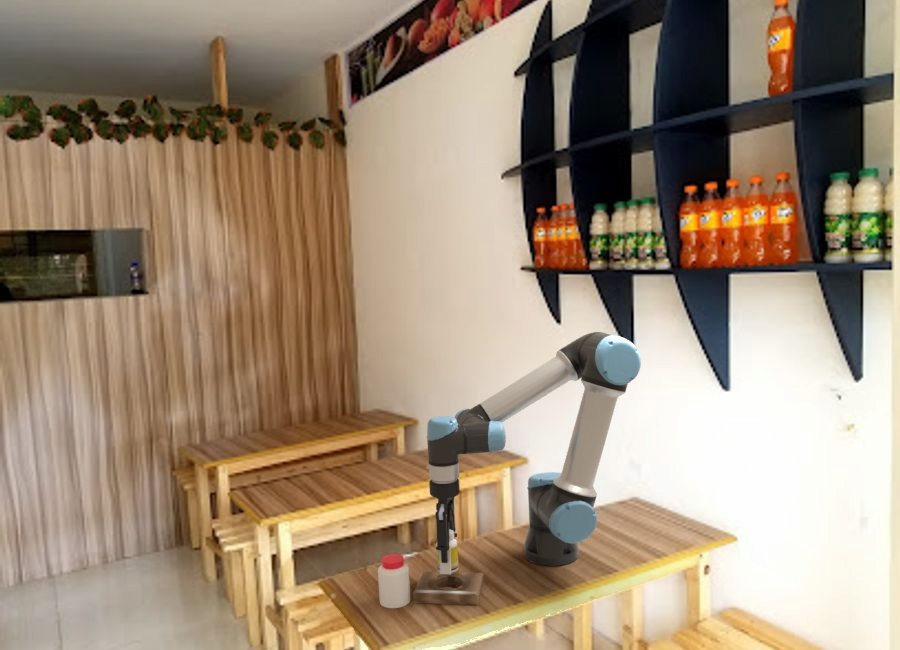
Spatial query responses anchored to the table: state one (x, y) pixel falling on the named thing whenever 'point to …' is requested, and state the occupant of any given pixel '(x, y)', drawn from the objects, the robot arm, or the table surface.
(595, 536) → the table surface
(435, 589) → the jig
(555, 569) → the table surface
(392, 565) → the pill bottle
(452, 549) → the supplement bottle
